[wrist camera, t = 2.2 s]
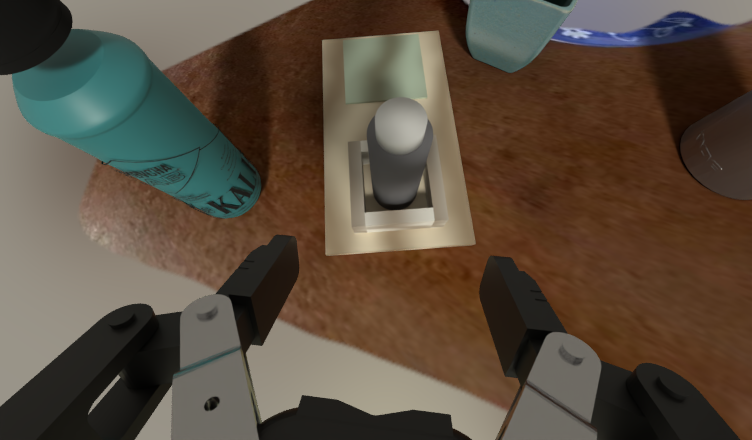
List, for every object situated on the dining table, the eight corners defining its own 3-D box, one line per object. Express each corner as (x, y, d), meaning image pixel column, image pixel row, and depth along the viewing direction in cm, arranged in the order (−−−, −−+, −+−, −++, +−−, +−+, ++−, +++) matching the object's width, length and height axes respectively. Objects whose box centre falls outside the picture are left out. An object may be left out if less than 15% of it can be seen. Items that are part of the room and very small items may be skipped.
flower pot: (480, 14, 34) (512, -82, 26) (548, 40, 33) (606, -52, 24) (449, 63, 32) (472, -23, 24) (519, 93, 31) (571, 13, 22)
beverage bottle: (203, 178, 29) (-148, -57, 10) (263, 158, 30) (39, -104, 10) (214, 234, 27) (-189, 79, 8) (278, 212, 28) (39, 15, 9)
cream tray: (437, 36, 34) (442, 9, 30) (472, 245, 26) (485, 237, 23) (323, 46, 34) (317, 19, 31) (327, 255, 26) (319, 249, 23)
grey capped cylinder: (414, 167, 28) (432, 86, 17) (419, 208, 27) (442, 148, 16) (371, 171, 28) (363, 92, 17) (374, 212, 27) (367, 153, 16)
